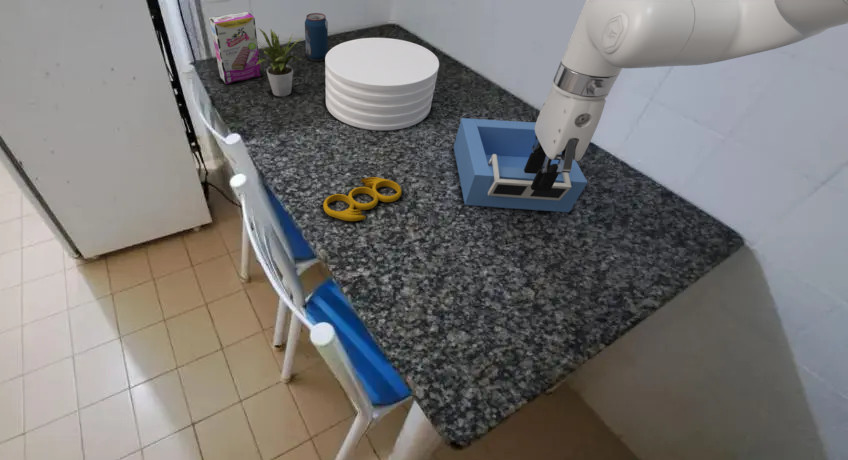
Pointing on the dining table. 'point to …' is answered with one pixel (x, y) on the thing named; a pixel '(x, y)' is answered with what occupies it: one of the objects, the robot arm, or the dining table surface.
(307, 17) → the soda can
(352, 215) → the yellow winged triple ring
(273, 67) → the house plant
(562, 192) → the white sunglasses
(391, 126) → the plate stack
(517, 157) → the bin
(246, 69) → the candy bar box
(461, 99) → the dining table surface
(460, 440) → the dining table surface
